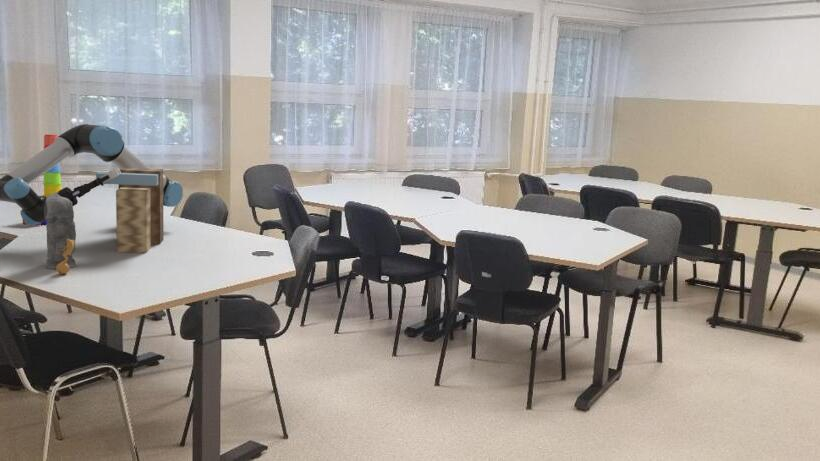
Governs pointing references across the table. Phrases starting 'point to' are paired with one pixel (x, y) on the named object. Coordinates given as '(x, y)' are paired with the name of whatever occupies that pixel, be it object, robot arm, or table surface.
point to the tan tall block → (133, 219)
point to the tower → (151, 201)
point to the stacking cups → (51, 172)
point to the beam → (131, 179)
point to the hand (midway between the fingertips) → (118, 171)
